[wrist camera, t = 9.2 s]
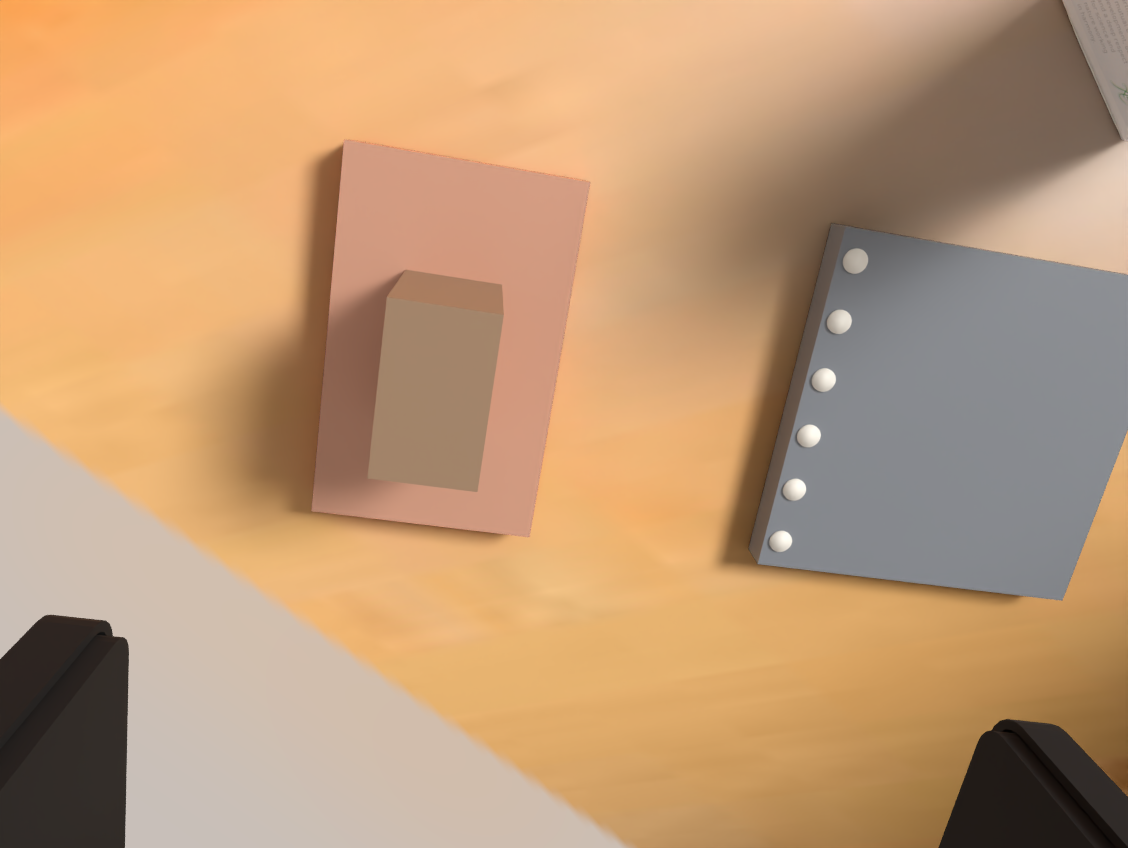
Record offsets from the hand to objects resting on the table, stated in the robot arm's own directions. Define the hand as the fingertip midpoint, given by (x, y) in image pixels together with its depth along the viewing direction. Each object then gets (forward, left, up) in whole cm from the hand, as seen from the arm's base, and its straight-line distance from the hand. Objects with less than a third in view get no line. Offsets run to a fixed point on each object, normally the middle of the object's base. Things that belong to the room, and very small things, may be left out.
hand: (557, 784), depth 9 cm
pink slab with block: (+2, 0, -21) cm, 21 cm away
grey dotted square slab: (-16, 0, -21) cm, 26 cm away
